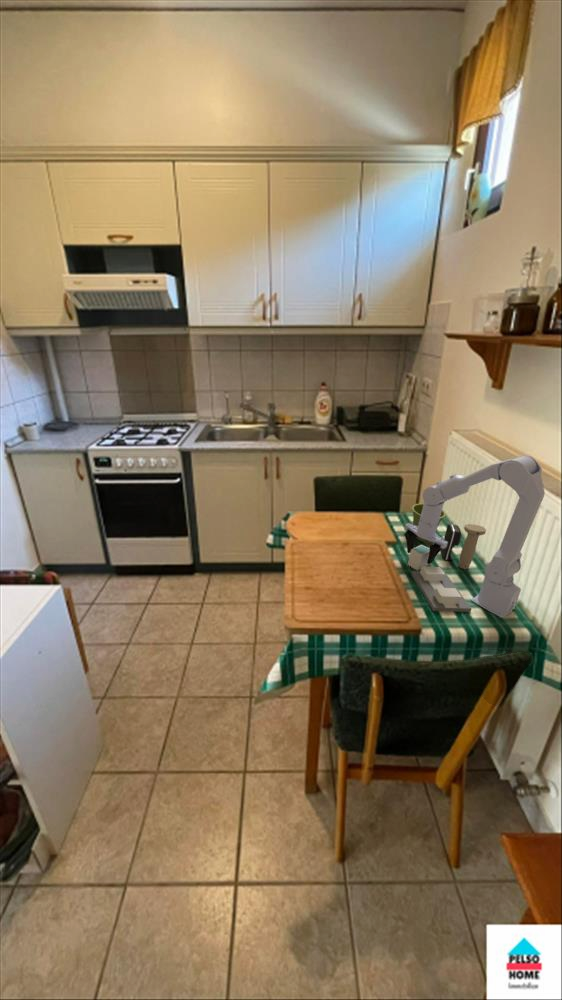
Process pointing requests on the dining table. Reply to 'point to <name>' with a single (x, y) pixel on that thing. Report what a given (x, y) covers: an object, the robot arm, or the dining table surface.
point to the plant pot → (417, 513)
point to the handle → (470, 544)
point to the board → (431, 594)
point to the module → (419, 557)
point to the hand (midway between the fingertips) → (419, 557)
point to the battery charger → (451, 540)
